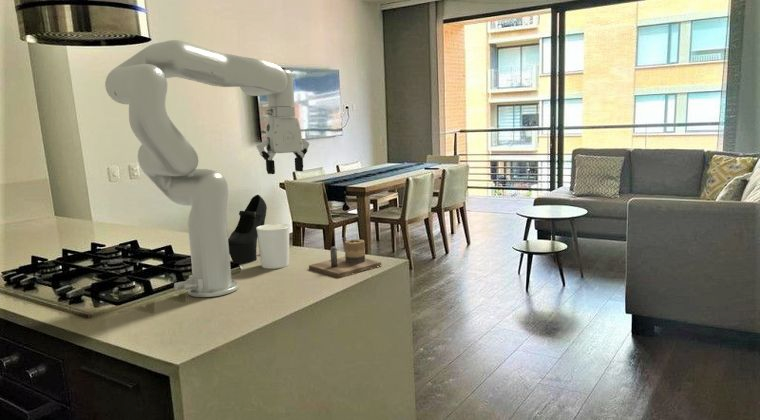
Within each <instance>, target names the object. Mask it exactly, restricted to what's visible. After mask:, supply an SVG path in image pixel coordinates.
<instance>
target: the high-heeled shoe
mask: <svg viewBox="0 0 760 420" xmlns="http://www.w3.org/2000/svg"><path fill="white" fill-rule="evenodd" d="M267 206H268V205H267V203H266V201H265V199H264V198H263V197H261V195H260V194H256V195H254V196H252V198H251V199H250V201H249V203H248V204H247V207H246V208H245V209H244V210H240V211H239V212H238V215H239V220H238V222H237V225H236V227H235V229H234V230H233V231H232V232H231V233H230V235H229V236H228V243H229V255H230V260H231V262H232V263H234V264H249V263H252V262H255V261H256V260H257V259H258V258H257V248H258V247H257V245H258V236H257V230H256V228H257V227H258V226H262V225H265V223H266V222H265V221H266V216H267V211H268V210H267V209H268V208H267Z"/></svg>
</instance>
